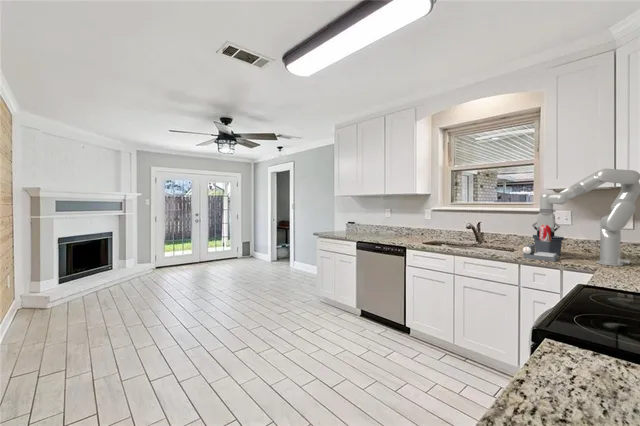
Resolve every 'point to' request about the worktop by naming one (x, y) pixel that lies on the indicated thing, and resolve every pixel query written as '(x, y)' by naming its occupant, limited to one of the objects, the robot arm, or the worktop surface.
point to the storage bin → (548, 245)
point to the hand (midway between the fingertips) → (545, 236)
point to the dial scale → (538, 254)
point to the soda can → (545, 233)
